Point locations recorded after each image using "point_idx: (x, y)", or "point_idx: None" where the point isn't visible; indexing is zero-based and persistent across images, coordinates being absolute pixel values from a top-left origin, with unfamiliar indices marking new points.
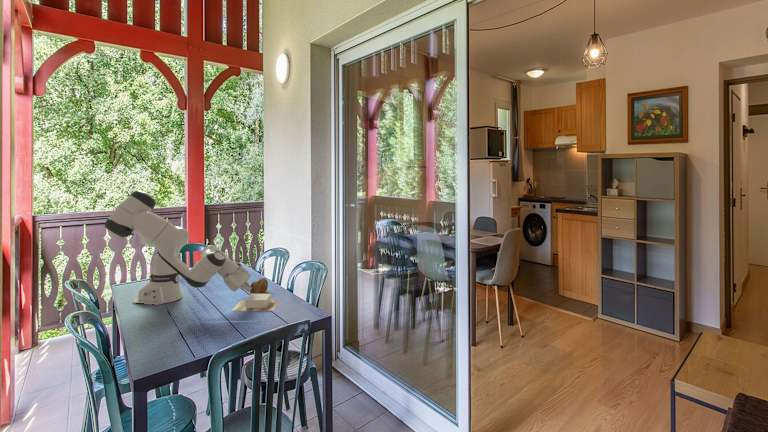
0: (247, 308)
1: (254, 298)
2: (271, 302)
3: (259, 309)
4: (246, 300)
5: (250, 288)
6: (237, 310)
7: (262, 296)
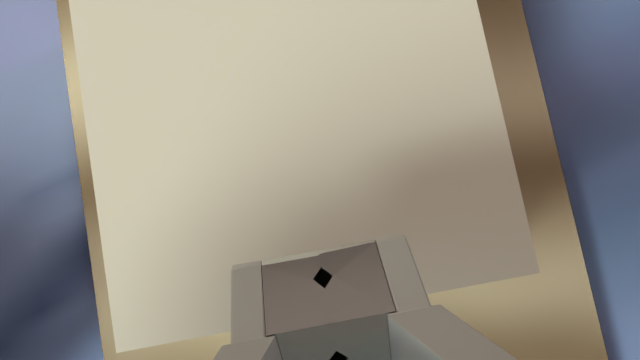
0: None
1: (401, 142)
2: None
3: None
4: (533, 249)
5: (334, 265)
6: (587, 354)
7: (257, 43)
